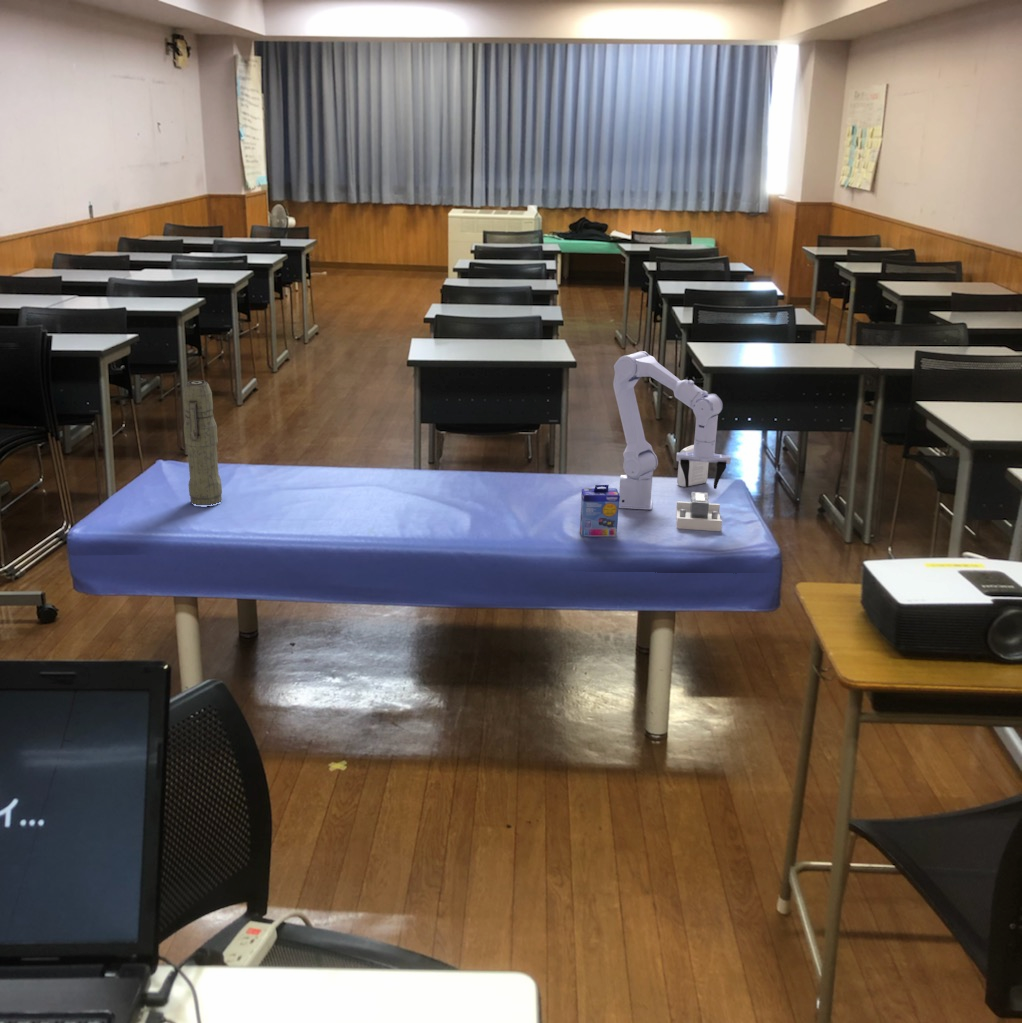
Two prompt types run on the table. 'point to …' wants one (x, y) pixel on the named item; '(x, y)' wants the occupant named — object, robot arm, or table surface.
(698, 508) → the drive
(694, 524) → the tray
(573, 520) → the table surface
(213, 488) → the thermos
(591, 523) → the ink cartridge box
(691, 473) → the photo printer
